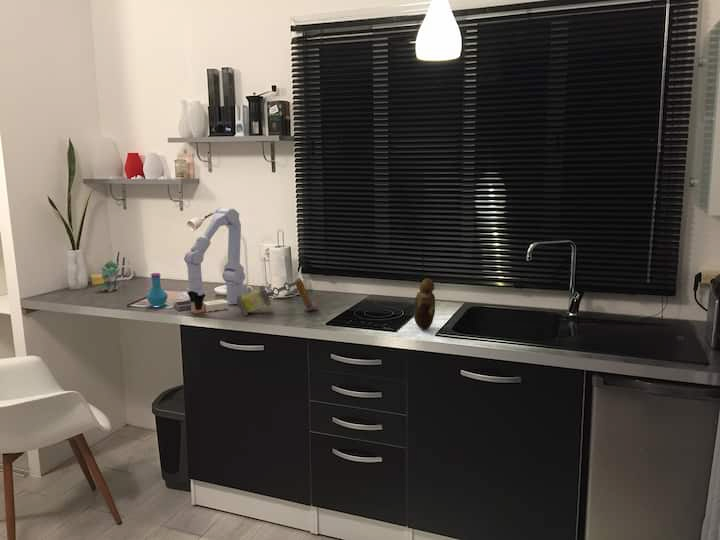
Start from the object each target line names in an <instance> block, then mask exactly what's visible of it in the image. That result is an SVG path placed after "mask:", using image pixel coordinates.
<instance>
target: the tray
mask: <svg viewBox="0 0 720 540" xmlns="http://www.w3.org/2000/svg"><path fill="white" fill-rule="evenodd" d="M173 308H175V309H176V310H177V311H178V312H183V311H188V310H191V300H190V299H189V300H182V301H175V302H173Z"/></svg>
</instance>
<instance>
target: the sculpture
mask: <svg viewBox="0 0 720 540" xmlns="http://www.w3.org/2000/svg"><path fill="white" fill-rule="evenodd" d="M434 290H435V283H434V282H433V280H432V279H431V278H424V279H423V280H422V281H421V282H420V285H419V291H418V292H417V294H416V296H415V299H414V300H415V301H414V307H413V318H414V321H415V324H416V325H417V327H418V328H420V329H422V330H427V329H429V328H430V327H431V326H432V324H433V322H434V317H435V314H436V313H435V312H436V296H435V293H433V291H434Z"/></svg>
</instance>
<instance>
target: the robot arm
mask: <svg viewBox="0 0 720 540" xmlns="http://www.w3.org/2000/svg"><path fill="white" fill-rule="evenodd" d="M222 226H225V227H226V228H227V230H228V238H227V239H228V240H227V241H228V243H227V263H226V264H225V265H224V266H223V272H222V273H221V274H222V275H221V276H222V279H223V281H224V282H225V285H226V299H224V300H225V301H226V302H228V305H238V303H237V301H236V300H237V296H239V295H241V296H244V295H247V294H249V287H248V284H247V283H246V282H244V281H245V279H246V274H245V270H244V269H245V268H244V266H243V265H242V264H241V242H242V241H241V238H242V237H241V234H242V224H241V220H240V213H239V212H238V211H237V210H236V209H235V208H223V207H218V208H216V210H215V211H214V212H213V214H212V219H211V221H210V222H209V225H208V226H207V228H206V230H205V232H204V233H203V235H202V236H201V235H200V236H198V237H196V240H195V243H194V244H193V246H192V247H191V248H190V250H188V251H187V252H186V253H185V255H184V257H183V260H184V262H185V263H186V267H187V278H188V279H187V280H188V288H185V291H187V292H186V293H187V295H188V297H189V300H191V302H195V307H196V310H201V309H202V303H203V302H204V300H205V298H206V294H205V293H204V291H203V290H204V287H203V280H202V279H203V278H202V277H203V275H202V263H203V261H204V259H205V258H204V256H205V253H206V251H207V250H208V249H209V247H210V245H211V239H212V238H213V237H214V235H215V233H216V232H217V231H219V229H220V227H222Z"/></svg>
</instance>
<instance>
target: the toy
mask: <svg viewBox="0 0 720 540" xmlns="http://www.w3.org/2000/svg"><path fill="white" fill-rule="evenodd" d="M101 269H102V271H101V277H102V280H103V284H102V285H101V290H102V292H105V291H104V290H105V287H107V291H108V293H111V292H112V291H114V290H115V289H116V290H118V288H119V285H118V281H117V280H118V275H117V273H118V272H120V268H119V267H118V264H117V263H115V262H114V261H112V260H111V261H110V260H109V261H108V262H105V264H104V266H102V267H101Z"/></svg>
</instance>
